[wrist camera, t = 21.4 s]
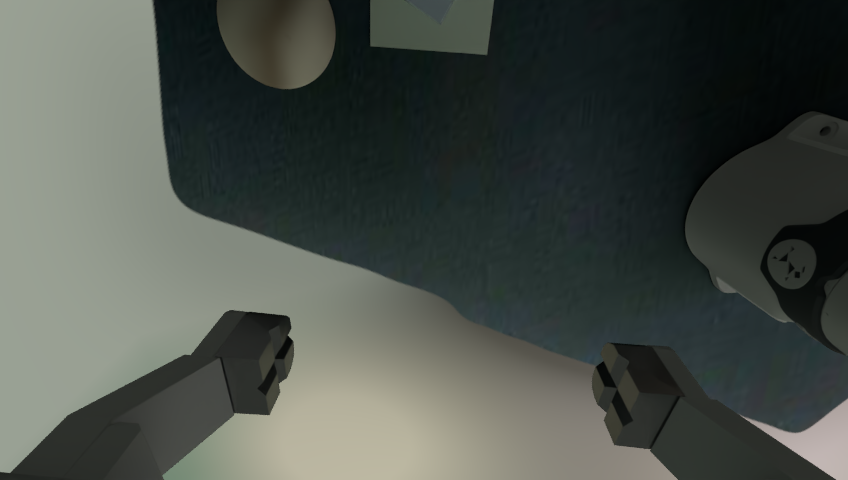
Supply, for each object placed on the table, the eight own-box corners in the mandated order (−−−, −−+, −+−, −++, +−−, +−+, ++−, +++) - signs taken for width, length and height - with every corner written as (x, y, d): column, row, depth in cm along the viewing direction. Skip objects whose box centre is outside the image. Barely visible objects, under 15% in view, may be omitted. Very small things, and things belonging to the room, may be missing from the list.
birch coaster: (332, -42, 30) (332, -43, 30) (338, 92, 35) (337, 93, 35) (207, -51, 30) (205, -52, 30) (229, 84, 35) (228, 84, 35)
